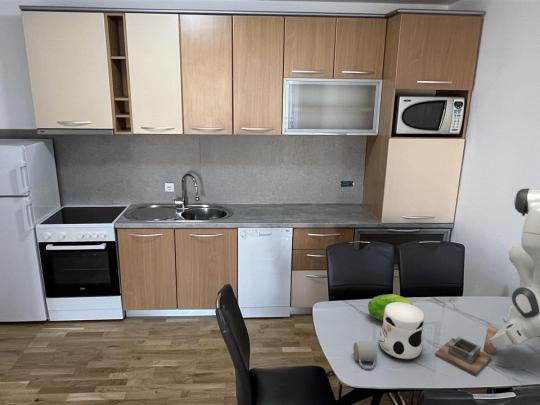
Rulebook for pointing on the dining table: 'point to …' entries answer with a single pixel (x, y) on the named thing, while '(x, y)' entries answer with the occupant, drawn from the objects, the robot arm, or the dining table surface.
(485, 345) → the post
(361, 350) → the ceramic mug
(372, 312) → the lettuce
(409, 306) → the milk container
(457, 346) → the stand
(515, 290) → the robot arm
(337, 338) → the dining table surface
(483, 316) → the dining table surface
